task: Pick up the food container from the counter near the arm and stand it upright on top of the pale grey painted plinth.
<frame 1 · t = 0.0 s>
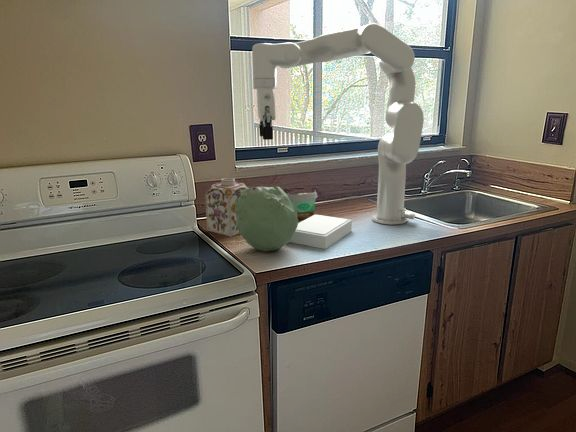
hand: (266, 137, 151), 31 cm above the worktop, tool pointing down, fingers open, 9 cm apart
decorative jar: (230, 230, 157), on the worktop
base: (319, 236, 149), on the worktop
food container: (304, 219, 169), on the worktop
cabbage: (267, 250, 138), on the worktop
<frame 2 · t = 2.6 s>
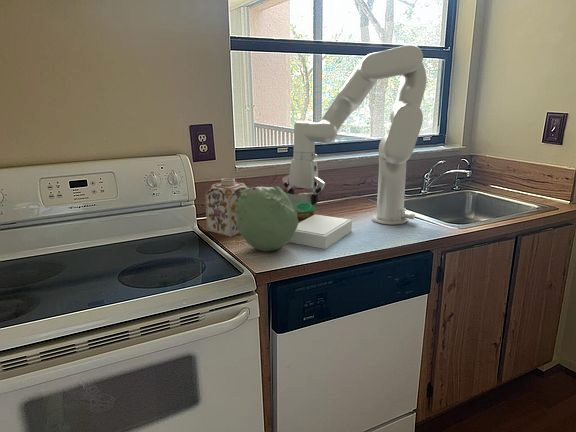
hand: (302, 202, 167), 6 cm above the worktop, tool pointing down, fingers open, 9 cm apart
food container: (304, 219, 169), on the worktop, touching gripper
everything else where it was.
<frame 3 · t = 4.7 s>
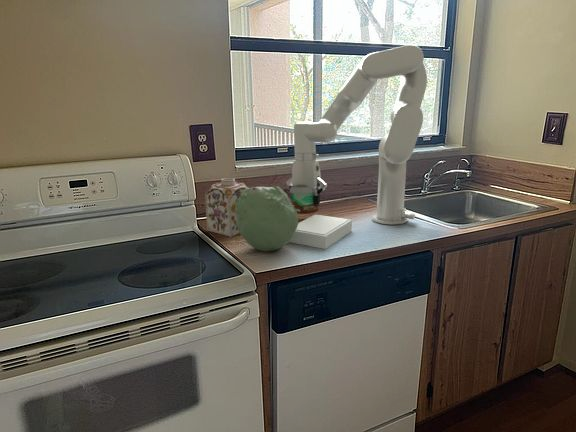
hand: (306, 204, 167), 6 cm above the worktop, tool pointing down, fingers closed on food container, 7 cm apart
food container: (309, 212, 167), point 3 cm above the worktop, touching gripper
everything else where it was.
when the fingers open (8 cm above the worktop, at t = 11.2 s): food container stays where it is, resting on base.
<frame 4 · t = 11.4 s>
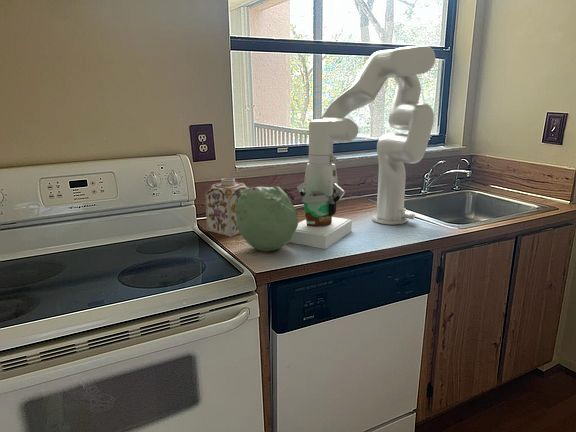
hand: (320, 213, 147), 8 cm above the worktop, tool pointing down, fingers open, 8 cm apart
food container: (323, 224, 147), point 4 cm above the worktop, touching base, gripper
everything else where it was.
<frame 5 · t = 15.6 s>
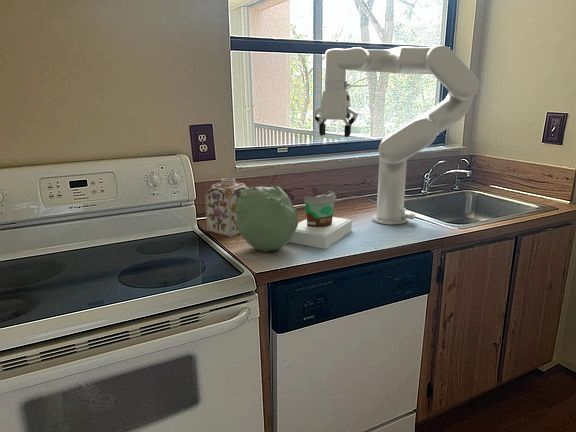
hand: (334, 135, 163), 30 cm above the worktop, tool pointing down, fingers open, 9 cm apart
food container: (323, 225, 147), point 4 cm above the worktop, touching base
everything else where it was.
at the end: food container inside the target area on the base (1.7 cm from its centre), point 4.1 cm above the base's base; food container tilted 0°; the gripper is holding nothing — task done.
